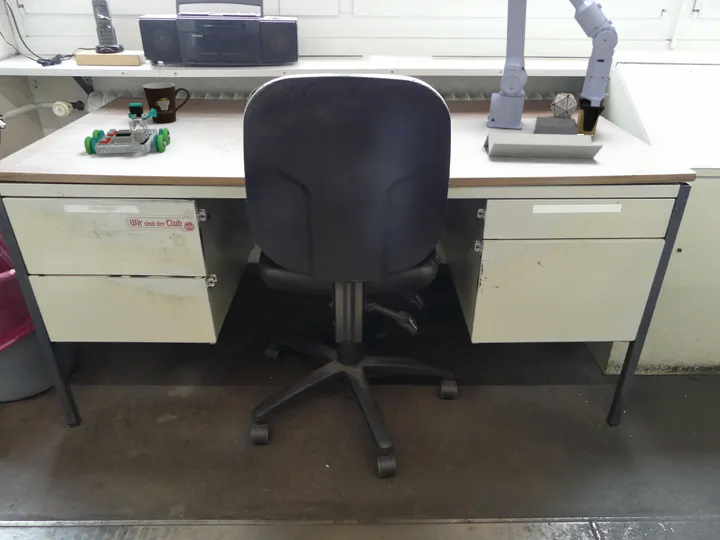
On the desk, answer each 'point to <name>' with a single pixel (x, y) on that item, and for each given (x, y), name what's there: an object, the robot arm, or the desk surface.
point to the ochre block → (580, 125)
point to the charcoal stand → (556, 126)
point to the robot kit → (129, 135)
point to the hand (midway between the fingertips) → (585, 127)
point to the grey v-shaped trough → (541, 145)
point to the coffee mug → (163, 101)
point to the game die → (563, 105)
